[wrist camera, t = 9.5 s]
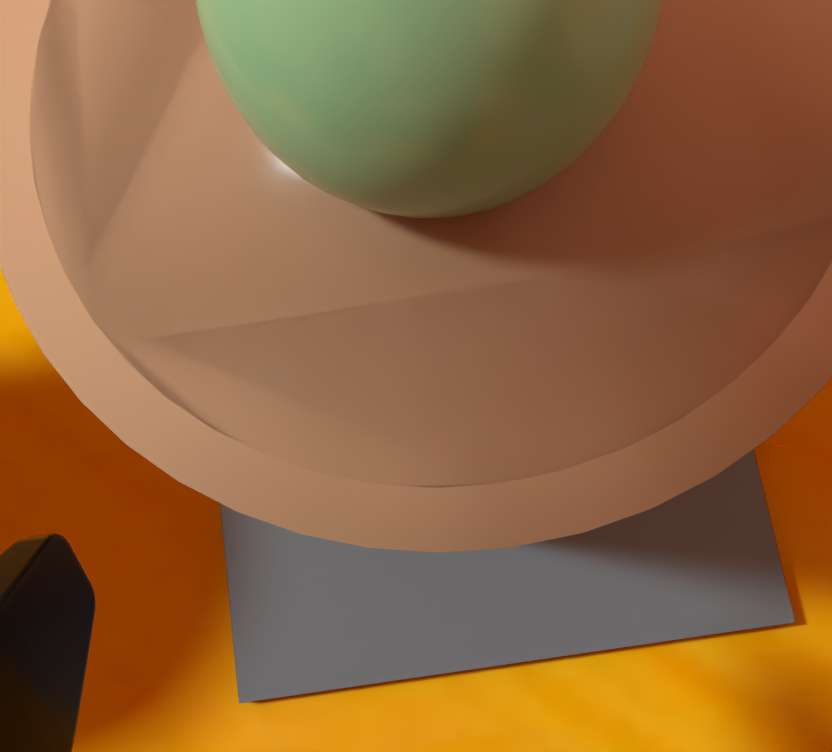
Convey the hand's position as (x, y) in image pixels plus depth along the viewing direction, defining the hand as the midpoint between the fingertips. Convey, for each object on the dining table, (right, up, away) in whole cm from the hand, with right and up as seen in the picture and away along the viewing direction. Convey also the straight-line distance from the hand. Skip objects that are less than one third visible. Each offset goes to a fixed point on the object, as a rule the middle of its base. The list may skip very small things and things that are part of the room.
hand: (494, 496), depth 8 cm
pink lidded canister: (0, +1, +10) cm, 10 cm away
